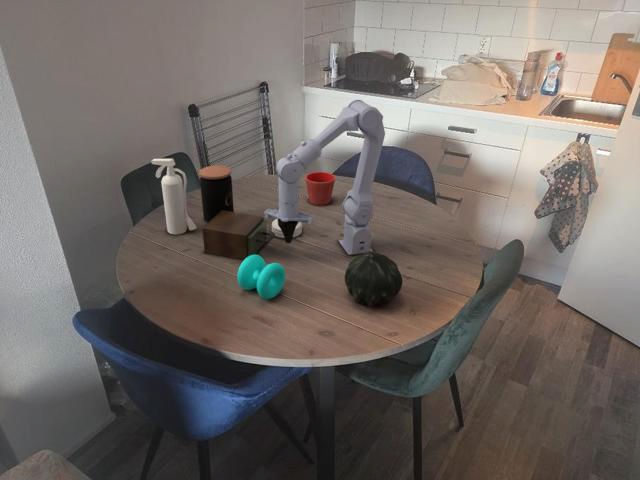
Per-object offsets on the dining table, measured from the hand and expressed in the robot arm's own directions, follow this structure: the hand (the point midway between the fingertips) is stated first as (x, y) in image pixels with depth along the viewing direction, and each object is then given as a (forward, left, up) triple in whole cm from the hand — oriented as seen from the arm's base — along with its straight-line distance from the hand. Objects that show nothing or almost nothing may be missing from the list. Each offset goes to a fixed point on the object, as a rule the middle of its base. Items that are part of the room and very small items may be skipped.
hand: (288, 241), depth 150 cm
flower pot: (+37, -22, -5) cm, 43 cm away
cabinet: (+10, +15, -5) cm, 19 cm away
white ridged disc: (+16, -3, -5) cm, 17 cm away
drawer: (+8, +12, -4) cm, 15 cm away
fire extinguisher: (+26, +31, -5) cm, 41 cm away
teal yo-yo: (-17, +12, -5) cm, 21 cm away
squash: (-27, -16, -5) cm, 32 cm away
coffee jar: (+31, +17, -5) cm, 36 cm away
